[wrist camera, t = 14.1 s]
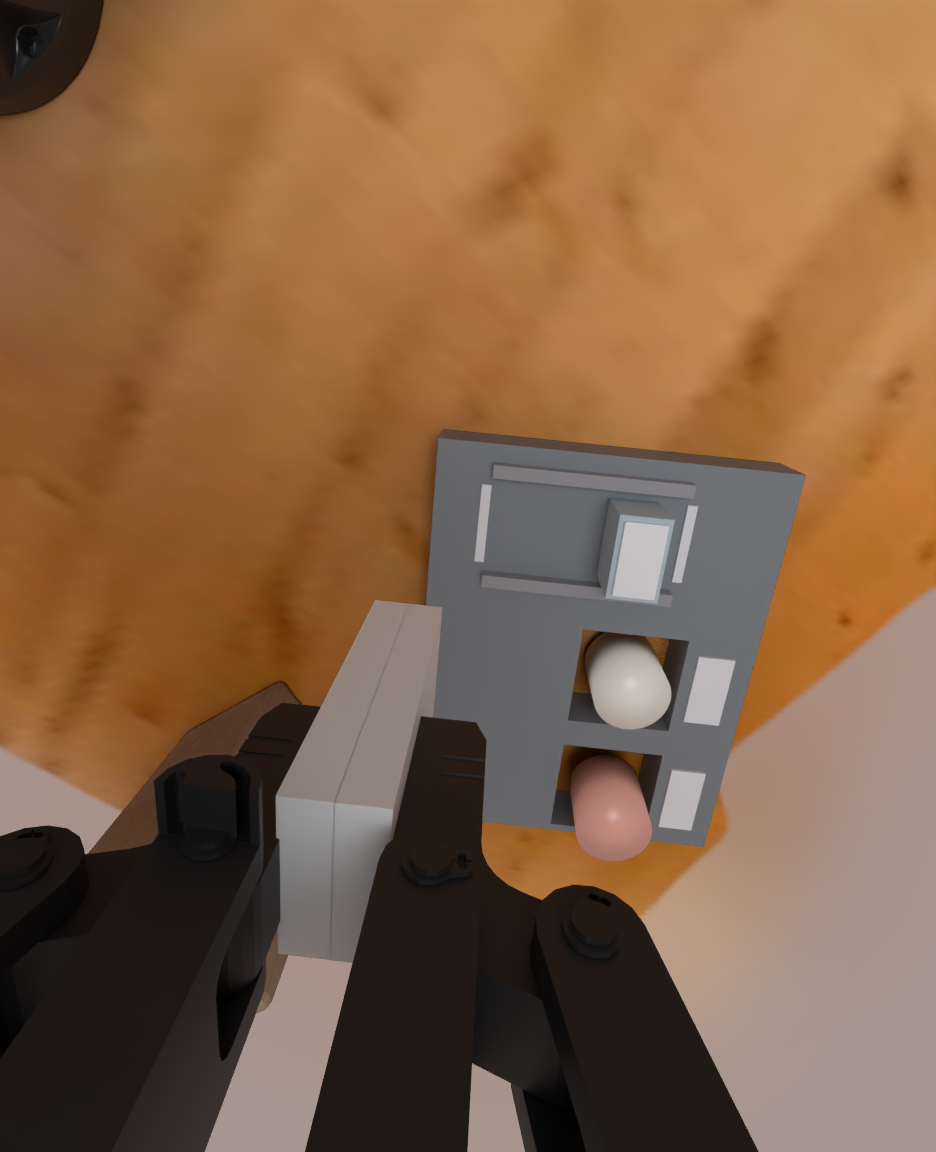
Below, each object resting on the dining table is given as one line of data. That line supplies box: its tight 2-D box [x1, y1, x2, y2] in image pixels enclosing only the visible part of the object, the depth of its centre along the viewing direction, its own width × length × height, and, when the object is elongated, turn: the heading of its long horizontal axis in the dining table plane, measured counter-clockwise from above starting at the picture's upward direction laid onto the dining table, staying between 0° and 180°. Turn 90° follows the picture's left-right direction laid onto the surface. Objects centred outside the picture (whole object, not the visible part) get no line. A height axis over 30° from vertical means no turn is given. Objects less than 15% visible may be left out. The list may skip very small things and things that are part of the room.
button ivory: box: [585, 632, 671, 729], centre depth 45 cm, size 5×5×5 cm
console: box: [426, 429, 806, 847], centre depth 45 cm, size 22×28×5 cm
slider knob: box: [597, 498, 675, 604], centre depth 38 cm, size 3×5×4 cm, turn 175°
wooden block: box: [88, 682, 300, 1013], centre depth 43 cm, size 10×10×20 cm
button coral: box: [569, 755, 652, 861], centre depth 46 cm, size 5×5×5 cm
